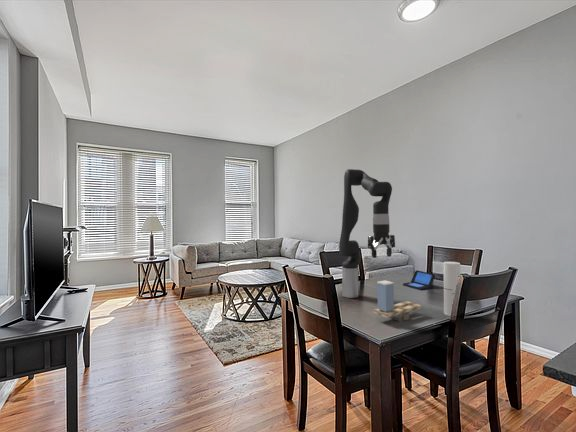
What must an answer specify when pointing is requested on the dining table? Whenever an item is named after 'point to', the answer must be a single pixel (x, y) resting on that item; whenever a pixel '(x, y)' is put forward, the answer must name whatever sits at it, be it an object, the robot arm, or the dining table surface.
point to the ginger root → (399, 311)
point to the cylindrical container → (450, 284)
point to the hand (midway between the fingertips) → (381, 257)
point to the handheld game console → (421, 280)
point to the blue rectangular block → (385, 295)
